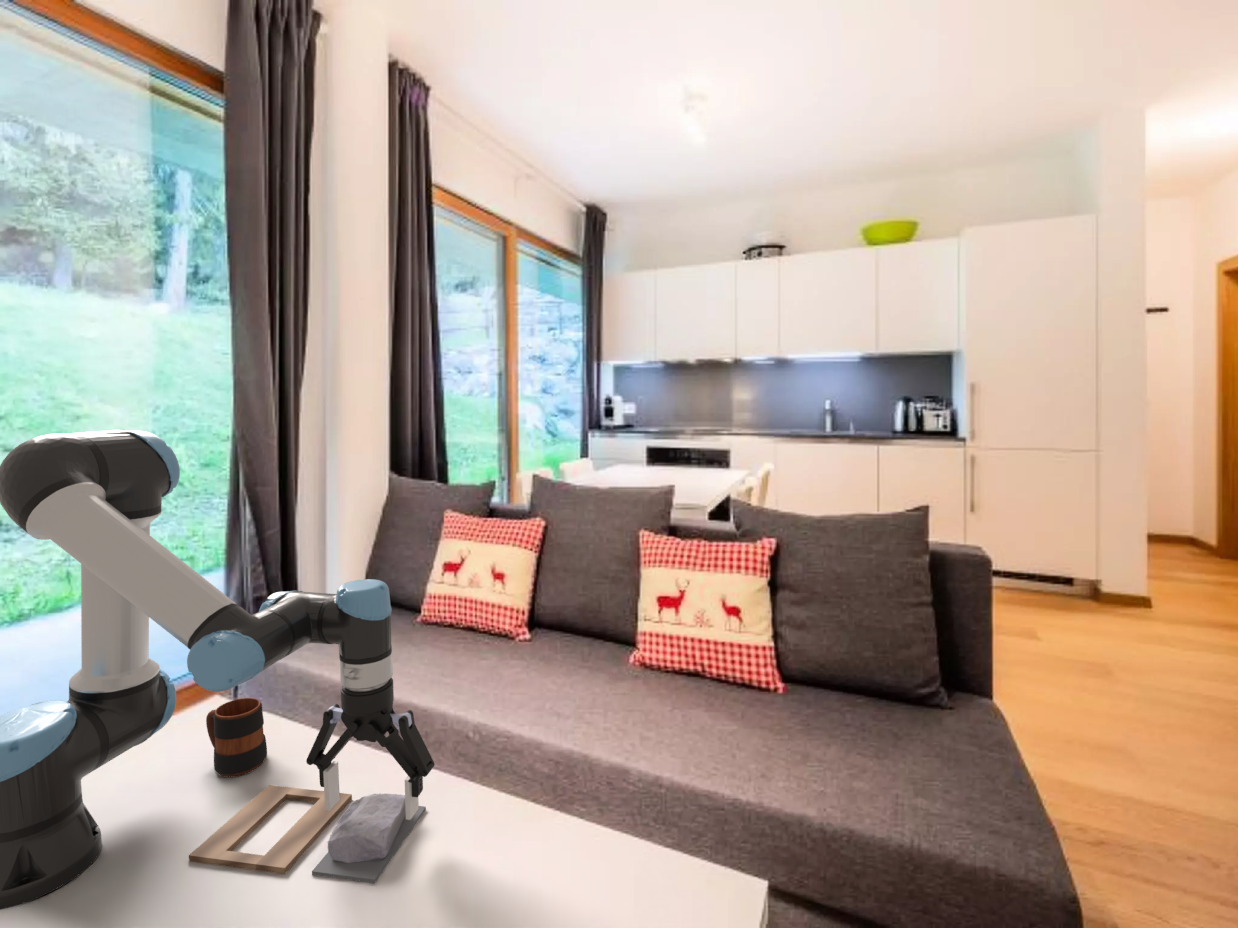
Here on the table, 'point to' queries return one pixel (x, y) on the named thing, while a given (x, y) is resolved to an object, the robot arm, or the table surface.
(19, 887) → the robot arm
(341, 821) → the stone block
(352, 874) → the mat
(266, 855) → the pocket board
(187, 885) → the table surface
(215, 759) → the mug
